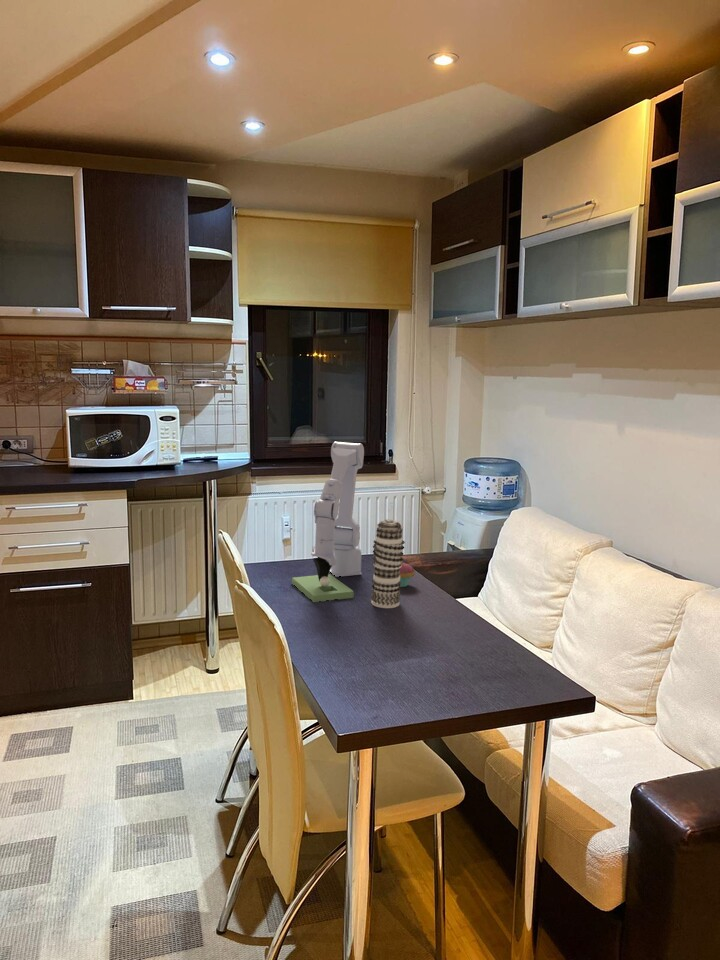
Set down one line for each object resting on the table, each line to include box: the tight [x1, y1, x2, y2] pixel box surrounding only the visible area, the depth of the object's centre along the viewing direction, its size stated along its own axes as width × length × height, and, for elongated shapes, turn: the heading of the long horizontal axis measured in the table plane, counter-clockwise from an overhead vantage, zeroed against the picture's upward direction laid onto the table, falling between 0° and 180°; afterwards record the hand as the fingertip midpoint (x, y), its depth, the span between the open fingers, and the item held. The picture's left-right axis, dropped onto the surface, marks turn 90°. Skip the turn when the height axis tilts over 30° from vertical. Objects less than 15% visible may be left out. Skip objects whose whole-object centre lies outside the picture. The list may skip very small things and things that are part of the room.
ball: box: [320, 576, 330, 587], centre depth 220 cm, size 3×3×3 cm
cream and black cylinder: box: [370, 519, 406, 609], centre depth 212 cm, size 9×9×25 cm
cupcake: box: [400, 561, 416, 588], centre depth 231 cm, size 9×8×12 cm
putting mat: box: [291, 573, 354, 603], centre depth 222 cm, size 13×18×2 cm
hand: (322, 581), depth 221 cm, fingers closed, pressing on ball
